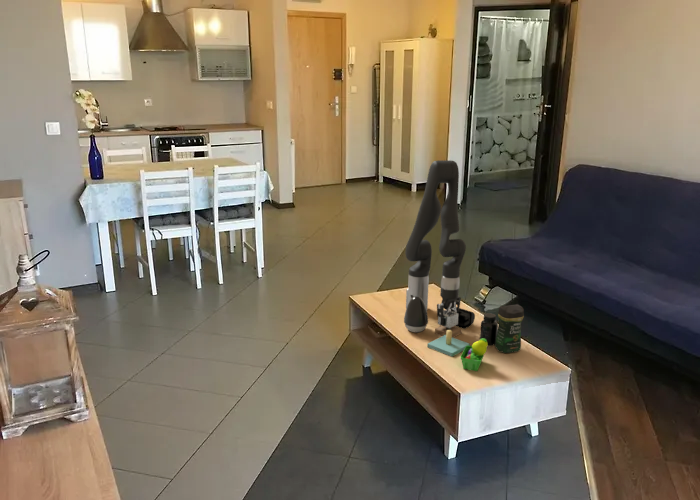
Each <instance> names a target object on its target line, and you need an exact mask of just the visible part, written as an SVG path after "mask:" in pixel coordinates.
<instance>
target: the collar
mask: <svg viewBox="0 0 700 500" xmlns="http://www.w3.org/2000/svg"><path fill="white" fill-rule="evenodd" d="M444 310H445V311H446V309H444ZM444 314H445V312H444ZM440 321H441V317H438V316H437V325H439V326H442V325H441V324H440ZM457 324H458V313H456V312H453V311H450V310H449V313H447V316H446V326H444V327H447V328H451V327H453V326H455V325H457ZM455 327H456V326H455Z"/></svg>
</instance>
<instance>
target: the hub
mask: <svg viewBox="0 0 700 500" xmlns="http://www.w3.org/2000/svg"><path fill="white" fill-rule="evenodd" d="M426 346H427V348H429V349H432V350H434V351H437V352H439V353H441V354H444V355H446V356H450V357H454V356H456V355H458V354H460V353H461V352H462V353H463V351H464V349H465V347H466V346H471V343H468V342H466V341H463V340H460V339H458V338H456V337H452V331H451V330H447V331H446V335H444V336H440V337H438V338H436V339H434V340H432V341H430V342H428V343H427V345H426Z"/></svg>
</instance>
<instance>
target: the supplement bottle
mask: <svg viewBox="0 0 700 500" xmlns="http://www.w3.org/2000/svg"><path fill="white" fill-rule="evenodd" d="M498 325H499V322H498V321H497V316H496V314H494V313H485V314H483V320H482V321H481V322H480V331H479V334H480V335H479V340H480V339H482V338H483V339H486V340H487V343H488V346H489V347H492V346H495V342H496V337H497V332H498ZM488 346H487V347H488Z"/></svg>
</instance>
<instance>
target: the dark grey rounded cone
mask: <svg viewBox="0 0 700 500" xmlns="http://www.w3.org/2000/svg"><path fill="white" fill-rule="evenodd" d="M410 296H411V300H410V301H409V303H408V306H407V308H406V307H405V308H406V309H405V313H404V317H403V323H404V325H405V327H406V329H407V330H408V331H410V332H411V333H421V332H423V331H424V330H425V329H426V328H427V326H428V324H429V317H428V309H427V310H426V307H425V304H424V301H423V300H422V298H420V297H418V296H415V297H414V296H413V295H410Z"/></svg>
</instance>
